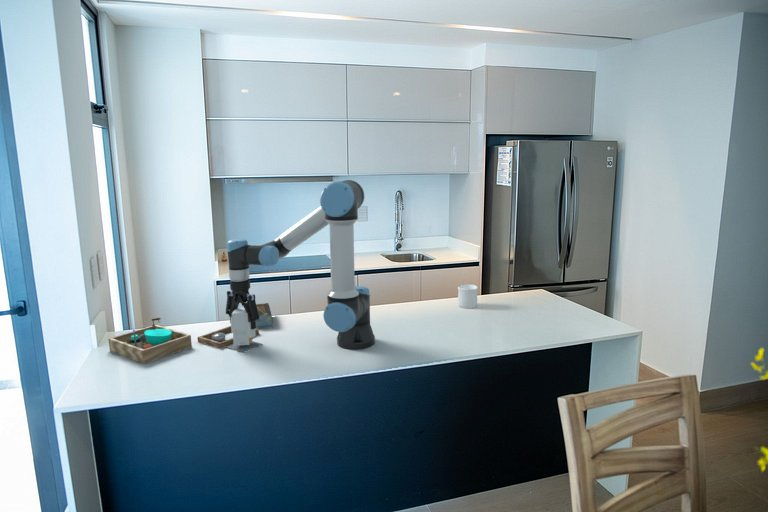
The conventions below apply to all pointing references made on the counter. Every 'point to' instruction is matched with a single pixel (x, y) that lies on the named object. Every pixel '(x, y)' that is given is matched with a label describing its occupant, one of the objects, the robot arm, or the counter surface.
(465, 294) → the cup
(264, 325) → the beverage carton
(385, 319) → the counter surface
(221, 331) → the frame
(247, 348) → the mat
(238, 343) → the small box
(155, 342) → the contraption on wooden base
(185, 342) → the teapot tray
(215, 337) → the tin
